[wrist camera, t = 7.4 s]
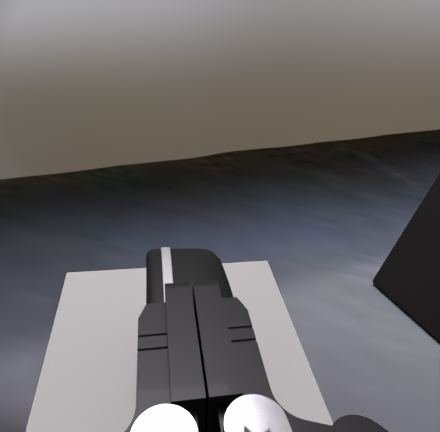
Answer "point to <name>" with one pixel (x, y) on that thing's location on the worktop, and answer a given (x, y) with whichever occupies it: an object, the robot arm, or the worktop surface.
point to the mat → (127, 350)
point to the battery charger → (182, 271)
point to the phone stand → (417, 265)
